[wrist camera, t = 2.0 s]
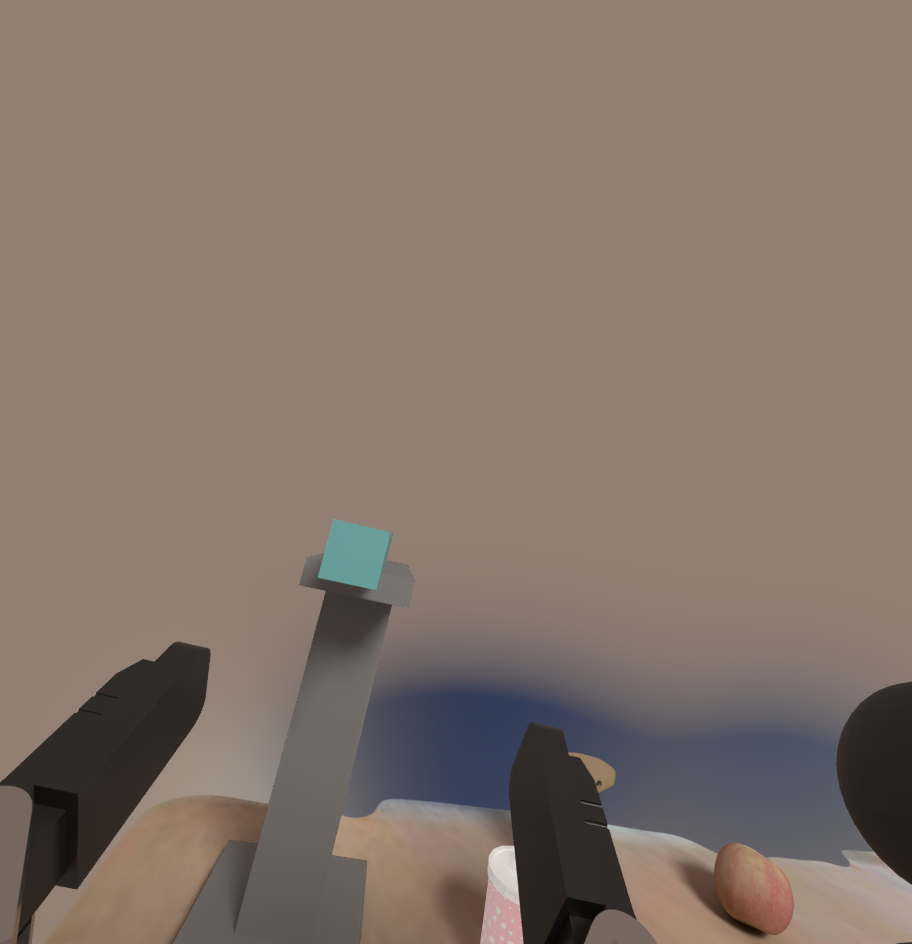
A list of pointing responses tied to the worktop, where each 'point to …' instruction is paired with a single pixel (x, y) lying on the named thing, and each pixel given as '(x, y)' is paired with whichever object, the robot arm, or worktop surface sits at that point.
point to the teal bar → (355, 555)
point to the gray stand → (308, 789)
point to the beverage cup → (502, 900)
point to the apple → (753, 889)
